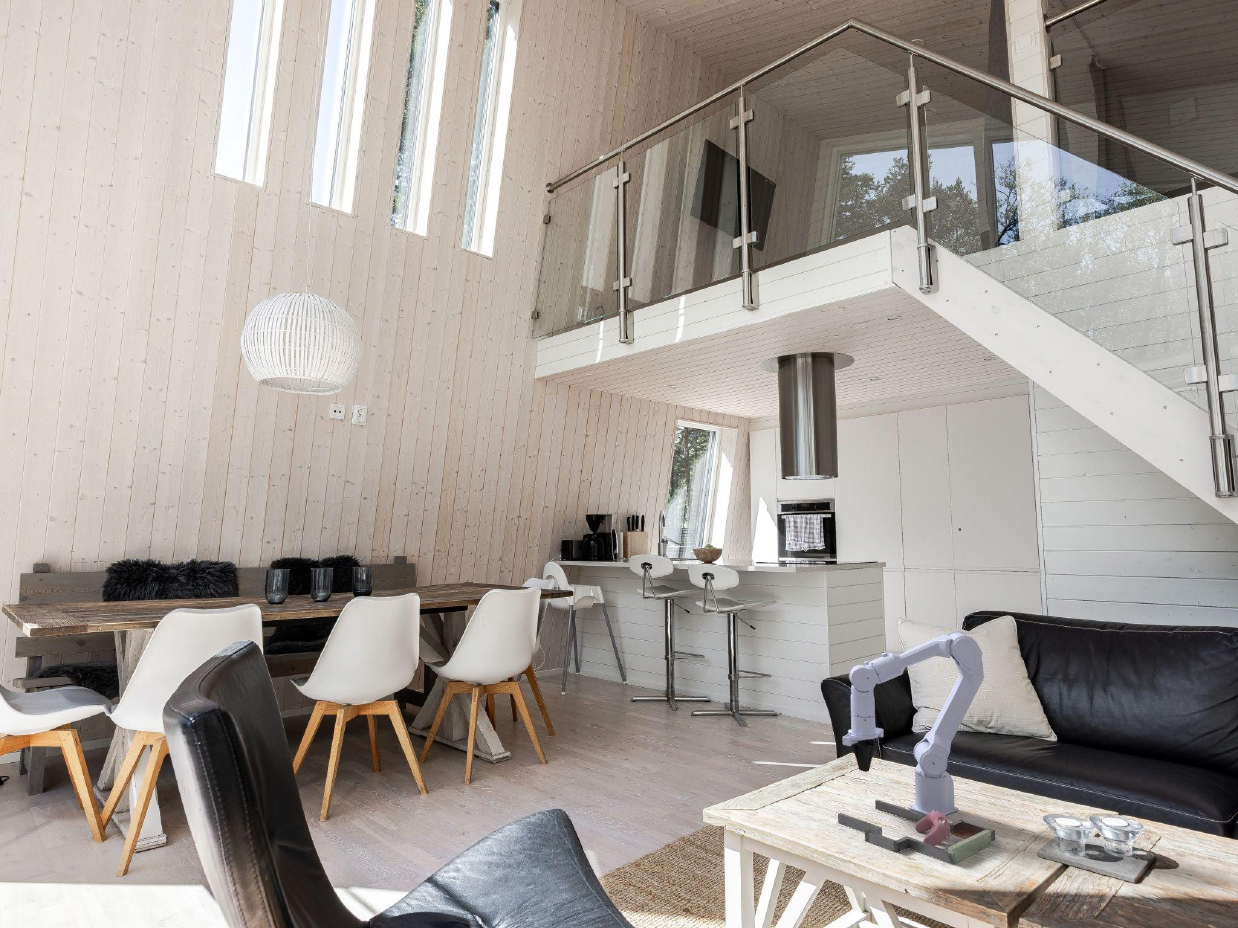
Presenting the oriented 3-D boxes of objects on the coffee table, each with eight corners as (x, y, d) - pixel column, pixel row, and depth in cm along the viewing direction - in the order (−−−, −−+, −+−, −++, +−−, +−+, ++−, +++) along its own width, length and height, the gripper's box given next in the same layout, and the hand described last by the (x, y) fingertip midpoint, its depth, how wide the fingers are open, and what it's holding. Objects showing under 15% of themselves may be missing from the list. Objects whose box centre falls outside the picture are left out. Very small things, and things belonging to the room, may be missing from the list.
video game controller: (942, 856, 163) (957, 827, 163) (922, 845, 164) (936, 816, 164) (931, 838, 173) (945, 810, 173) (912, 827, 174) (926, 800, 174)
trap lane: (887, 804, 190) (886, 791, 190) (999, 840, 168) (999, 826, 168) (827, 826, 175) (827, 813, 176) (942, 869, 153) (942, 853, 154)
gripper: (866, 707, 199) (867, 761, 198) (831, 715, 190) (832, 771, 189) (890, 713, 193) (891, 768, 192) (856, 721, 184) (857, 779, 183)
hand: (864, 770), depth 190 cm, fingers closed
